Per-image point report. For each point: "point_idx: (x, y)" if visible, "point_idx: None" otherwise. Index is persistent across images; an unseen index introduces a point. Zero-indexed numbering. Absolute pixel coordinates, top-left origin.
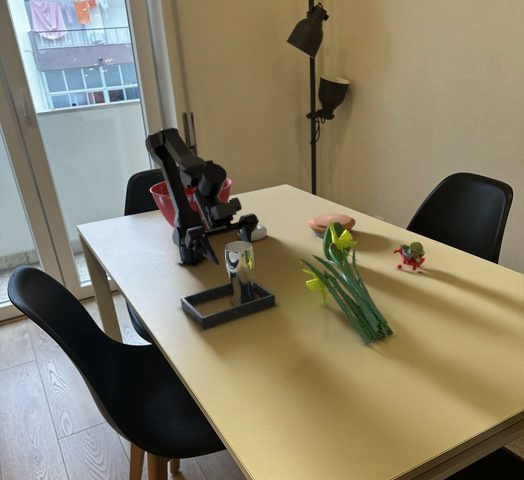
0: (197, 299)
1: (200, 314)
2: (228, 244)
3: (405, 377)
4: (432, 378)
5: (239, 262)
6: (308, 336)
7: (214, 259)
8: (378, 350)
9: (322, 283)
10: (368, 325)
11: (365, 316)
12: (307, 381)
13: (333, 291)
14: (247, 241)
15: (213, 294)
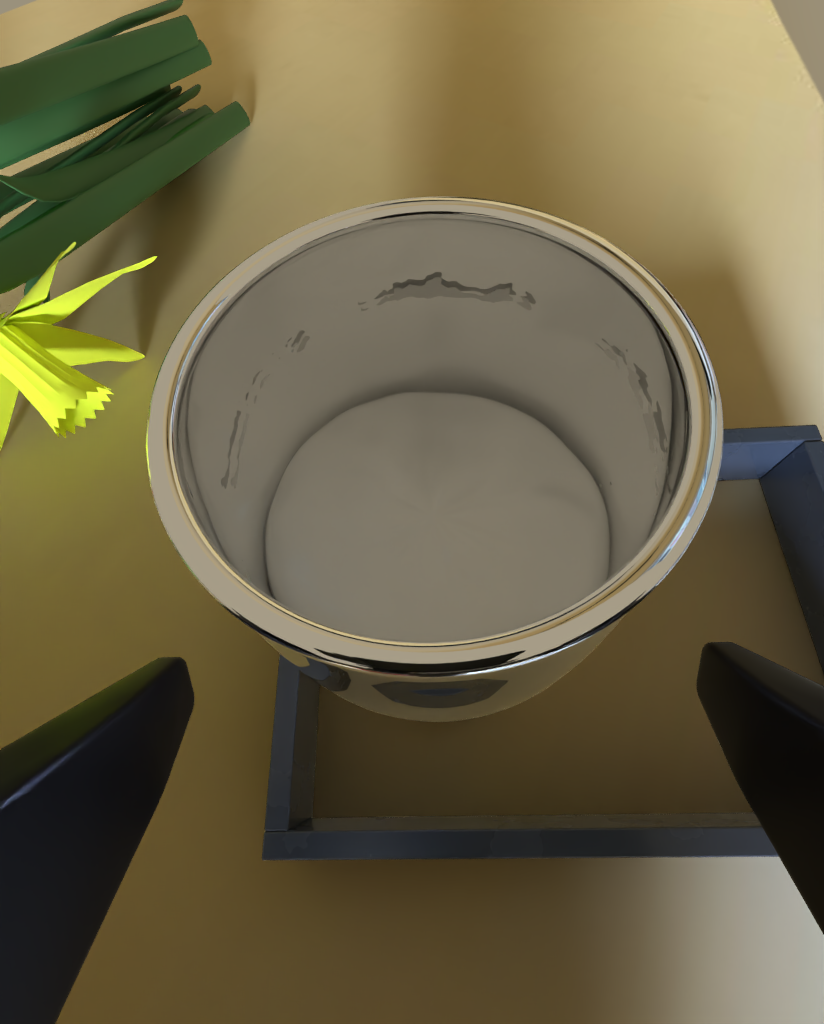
0: None
1: (819, 474)
2: (572, 605)
3: (287, 24)
4: (243, 8)
5: (509, 342)
6: None
7: (811, 686)
8: (244, 102)
9: (41, 319)
10: (180, 119)
11: (169, 81)
12: (504, 79)
13: (101, 195)
14: (6, 805)
15: (632, 819)
